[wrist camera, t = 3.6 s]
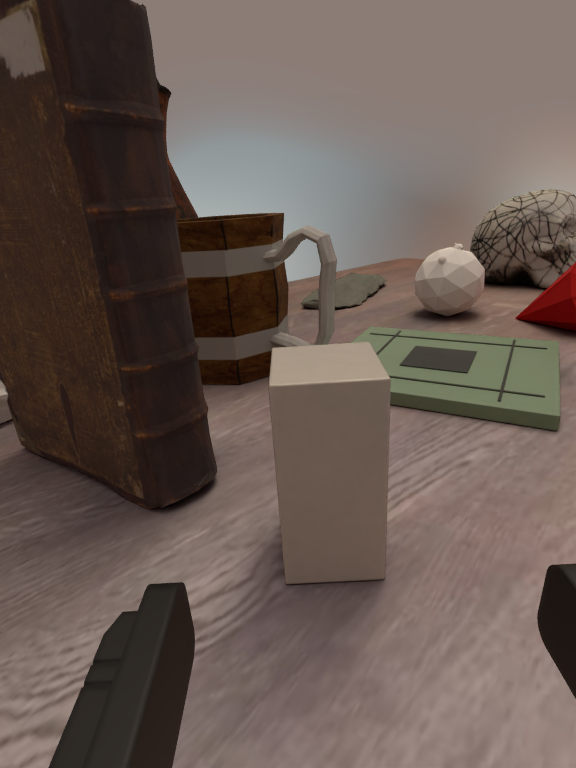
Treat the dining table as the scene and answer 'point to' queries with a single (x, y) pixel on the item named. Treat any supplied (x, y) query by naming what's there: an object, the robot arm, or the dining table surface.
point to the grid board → (471, 374)
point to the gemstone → (555, 303)
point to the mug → (247, 291)
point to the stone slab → (349, 290)
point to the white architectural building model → (4, 404)
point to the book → (94, 255)
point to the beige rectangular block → (331, 460)
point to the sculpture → (528, 238)
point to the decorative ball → (449, 281)
